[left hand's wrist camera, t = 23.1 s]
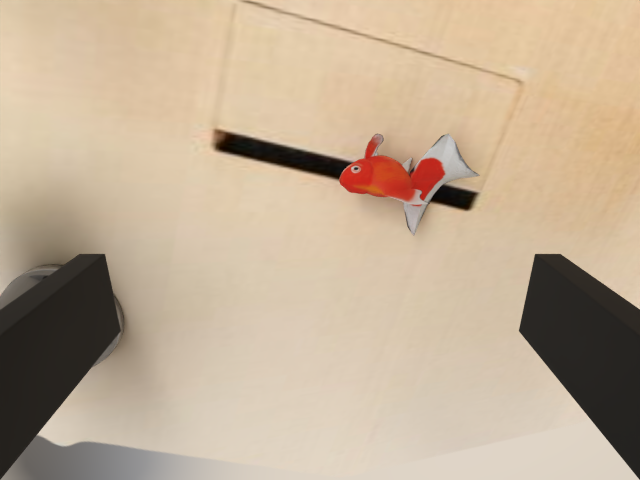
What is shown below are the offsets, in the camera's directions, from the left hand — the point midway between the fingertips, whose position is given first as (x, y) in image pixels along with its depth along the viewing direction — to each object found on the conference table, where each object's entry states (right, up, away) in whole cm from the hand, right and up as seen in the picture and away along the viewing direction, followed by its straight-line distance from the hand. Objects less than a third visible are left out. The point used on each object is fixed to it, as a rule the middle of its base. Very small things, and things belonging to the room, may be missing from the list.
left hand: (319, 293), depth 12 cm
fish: (+10, +10, +35) cm, 38 cm away
